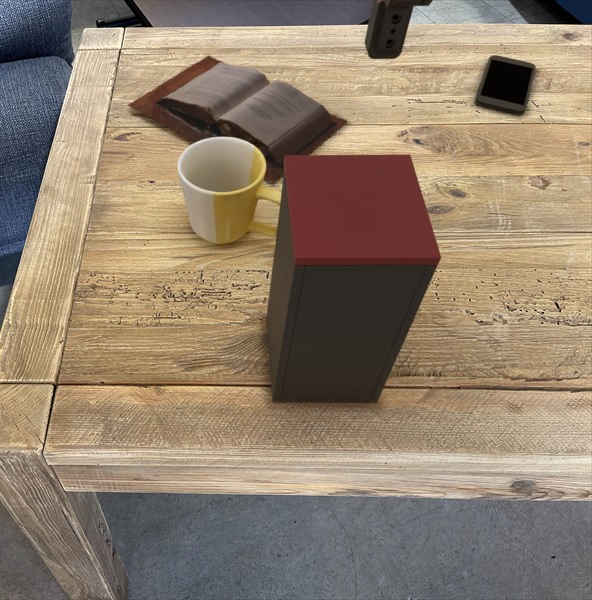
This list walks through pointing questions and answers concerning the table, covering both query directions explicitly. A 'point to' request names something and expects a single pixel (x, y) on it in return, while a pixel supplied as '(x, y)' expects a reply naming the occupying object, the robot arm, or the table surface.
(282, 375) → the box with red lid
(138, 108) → the book
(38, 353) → the table surface
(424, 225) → the red lid
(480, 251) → the table surface
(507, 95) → the smartphone
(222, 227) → the mug
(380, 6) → the robot arm
